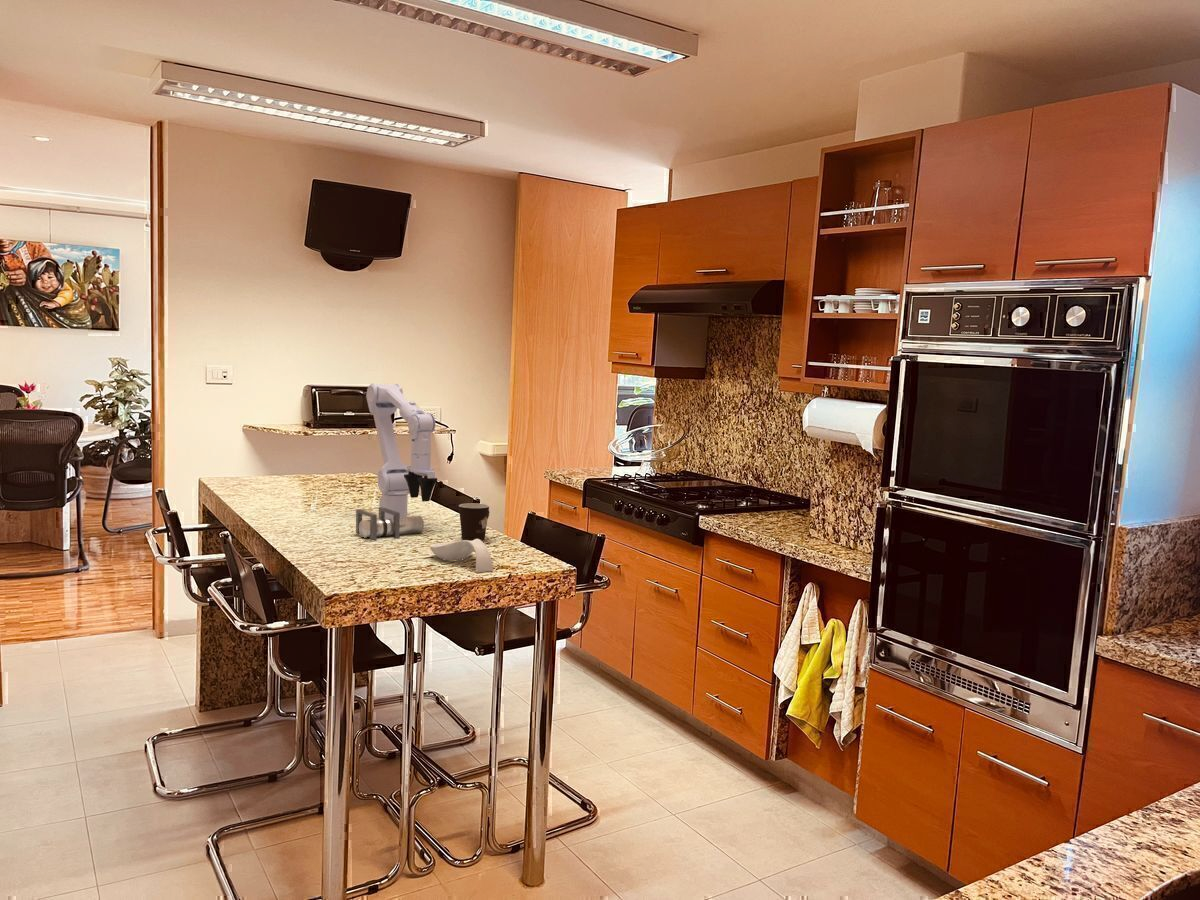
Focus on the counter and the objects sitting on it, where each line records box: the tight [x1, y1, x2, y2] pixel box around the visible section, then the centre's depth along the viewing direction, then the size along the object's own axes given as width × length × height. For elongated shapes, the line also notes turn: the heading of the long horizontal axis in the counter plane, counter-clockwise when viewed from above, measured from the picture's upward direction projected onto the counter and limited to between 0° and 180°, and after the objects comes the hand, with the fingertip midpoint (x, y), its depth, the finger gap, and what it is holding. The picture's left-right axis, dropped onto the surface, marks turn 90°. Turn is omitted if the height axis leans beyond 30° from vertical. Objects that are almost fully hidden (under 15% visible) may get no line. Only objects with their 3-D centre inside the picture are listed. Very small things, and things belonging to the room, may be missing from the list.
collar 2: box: [378, 506, 400, 539], centre depth 260 cm, size 11×1×7 cm, turn 39°
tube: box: [359, 515, 425, 539], centre depth 259 cm, size 18×5×5 cm, turn 129°
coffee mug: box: [458, 502, 490, 542], centre depth 258 cm, size 12×9×10 cm
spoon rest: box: [429, 539, 494, 574], centre depth 228 cm, size 24×12×7 cm, turn 37°
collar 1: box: [355, 508, 378, 541], centre depth 255 cm, size 11×1×7 cm, turn 39°
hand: (420, 499), depth 268 cm, fingers open, 7 cm apart
